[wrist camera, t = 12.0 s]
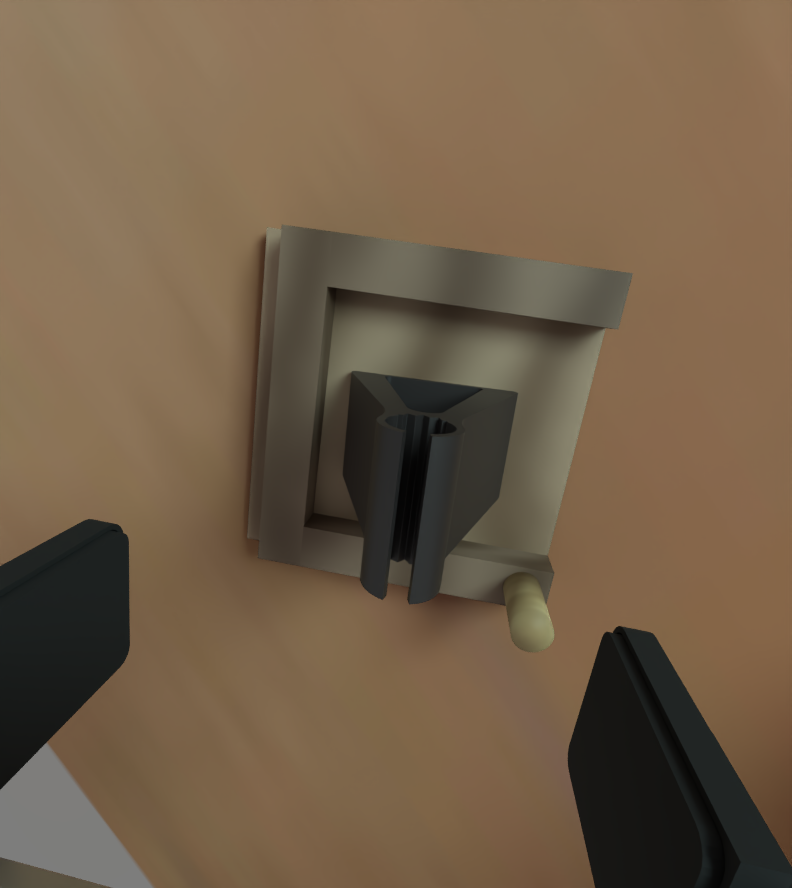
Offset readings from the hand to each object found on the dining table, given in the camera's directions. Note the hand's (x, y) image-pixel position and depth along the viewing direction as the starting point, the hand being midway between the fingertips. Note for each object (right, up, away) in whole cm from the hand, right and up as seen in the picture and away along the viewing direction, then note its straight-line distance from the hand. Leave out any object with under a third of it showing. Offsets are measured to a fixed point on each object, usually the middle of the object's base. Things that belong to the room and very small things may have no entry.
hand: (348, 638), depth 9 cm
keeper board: (+2, +5, +19) cm, 20 cm away
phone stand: (+3, +4, +18) cm, 19 cm away
